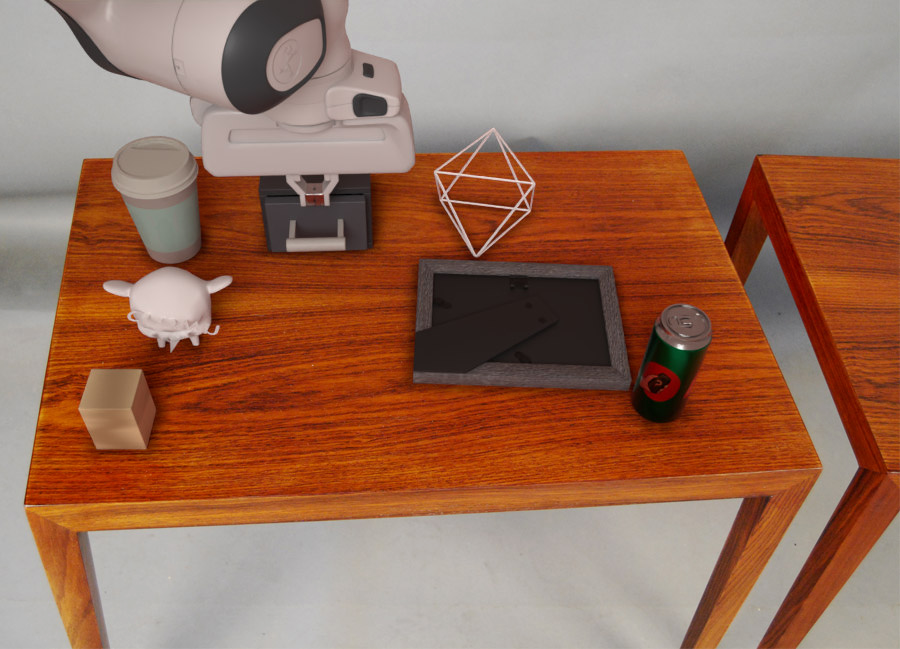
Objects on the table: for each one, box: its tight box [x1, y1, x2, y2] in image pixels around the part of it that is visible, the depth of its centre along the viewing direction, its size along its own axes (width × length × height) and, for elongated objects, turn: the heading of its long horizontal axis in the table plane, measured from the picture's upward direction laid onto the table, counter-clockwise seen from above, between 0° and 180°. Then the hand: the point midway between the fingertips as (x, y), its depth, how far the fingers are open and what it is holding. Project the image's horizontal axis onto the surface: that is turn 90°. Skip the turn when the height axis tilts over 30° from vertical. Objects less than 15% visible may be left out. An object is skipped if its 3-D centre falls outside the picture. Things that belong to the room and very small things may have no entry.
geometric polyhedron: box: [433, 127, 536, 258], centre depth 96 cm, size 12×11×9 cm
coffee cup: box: [110, 135, 203, 265], centre depth 90 cm, size 8×8×12 cm
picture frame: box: [412, 258, 632, 392], centre depth 88 cm, size 16×2×21 cm
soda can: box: [630, 303, 714, 424], centre depth 78 cm, size 5×5×12 cm
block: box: [77, 368, 157, 450], centre depth 76 cm, size 4×4×6 cm
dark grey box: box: [258, 173, 374, 252], centre depth 96 cm, size 12×12×9 cm
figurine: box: [102, 266, 233, 353], centre depth 83 cm, size 12×8×10 cm
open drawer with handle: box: [265, 194, 368, 253], centre depth 93 cm, size 15×10×7 cm
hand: (315, 202), depth 87 cm, fingers closed
